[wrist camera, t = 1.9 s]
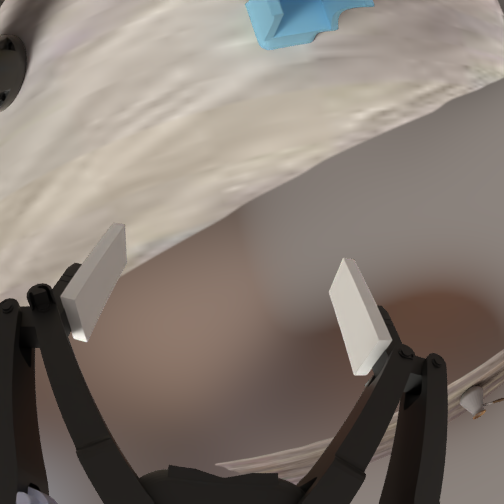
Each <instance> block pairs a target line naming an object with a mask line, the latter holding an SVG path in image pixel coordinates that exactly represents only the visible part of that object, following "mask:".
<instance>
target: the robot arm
mask: <svg viewBox="0 0 504 504" xmlns="http://www.w3.org/2000/svg"><path fill="white" fill-rule="evenodd" d="M3 2H4V0H0V7H1V5H2V4H3ZM25 69H26V51H25V47H24V44H23V42H22V41H21V40H20V39H19V38H18V37H17V36H14V35H2V36H0V112H1V111H3V110H5V109H6V108H7V107H8V106H9V105H10V104H11V103H12V102H13V100H14V99H15V97H16V96H17V94H18V92H19V90H20V87H21V85H22V82H23V78H24V74H25ZM126 264H127V254H126V234H125V224H120V223H113V224H112V225H111V227H110V228H109V229H108V230H107V232H106V233H105V234H104V235H103V237H102V238H101V239H100V241H99V242H98V243H97V245H96V246H95V247H94V249H93V250H92V251H91V253H90V254H89V255H88V257H87V258H86V259H85V261H84V262H83V264H78V263H74V264H73V265H71V266H70V267H68V268H67V269H66V271H65V272H64V274H63V276H61V278H60V279H59V281H58V282H57V283H56V285H55V286H54V288H53V289H52V288H51V287H50V286H49V285H47V284H43V283H42V284H37V285H35V286H33V287H31V288H30V289H29V291H28V292H27V300H28V302H29V305H30V306H27V307H20V306H19V303H18V302H17V300H15V299H11V298H9V299H5V300H4V301H2V302H1V303H0V504H57V502H56V501H55V500H54V499H53V498H51V497H50V496H49V490H48V481H47V476H46V470H45V465H44V460H43V454H42V449H41V443H40V435H39V428H38V418H37V407H36V394H35V393H36V391H35V348H40V350H41V354H42V358H43V361H44V365H45V368H46V371H47V375H48V378H49V381H50V384H51V387H52V390H53V393H54V396H55V398H56V401H57V404H58V407H59V409H60V411H61V414H62V417H63V419H64V422H65V424H66V426H67V429H68V431H69V433H70V436H71V438H72V440H73V442H74V444H75V447H76V453H77V456H78V458H79V461H80V463H81V464H82V466H83V468H84V470H85V472H86V474H87V476H88V478H89V479H90V481H91V482H92V485H93V486H94V488H95V490H96V491H97V493H98V495H99V496H100V498H101V500H102V501H103V503H104V504H350V502H351V501H352V499H353V498H354V496H355V495H356V493H357V491H358V490H359V488H360V487H361V485H362V483H363V482H364V480H365V477H366V474H365V473H364V471H365V469H366V467H367V465H368V464H369V462H370V460H371V458H372V457H373V455H374V453H375V451H376V449H377V447H378V445H379V443H380V441H381V440H382V438H383V436H384V434H385V432H386V429H387V427H388V425H389V423H390V421H391V419H392V417H393V414H394V412H395V410H396V408H397V405H398V403H399V401H400V407H399V413H398V420H397V426H396V432H395V437H394V443H393V448H392V453H391V458H390V462H389V466H388V471H387V475H386V479H385V483H384V486H383V490H382V494H381V497H380V501H379V504H440V502H439V499H440V494H441V488H442V481H443V473H444V465H445V455H446V441H447V417H448V395H447V371H446V370H447V369H446V363H445V361H444V359H443V358H442V357H441V356H439V355H438V354H435V353H432V354H429V356H427V358H426V359H425V358H421V357H418V356H415V353H414V352H413V350H412V349H411V348H410V347H408V346H407V345H404V344H402V342H401V340H400V338H399V335H398V333H397V331H396V329H395V327H394V326H393V323H392V321H391V318H390V316H389V314H388V312H387V311H386V310H385V309H384V308H383V307H382V306H377V305H376V303H375V301H374V299H373V296H372V294H371V292H370V290H369V288H368V286H367V284H366V282H365V280H364V278H363V276H362V274H361V272H360V270H359V268H358V266H357V264H356V262H355V260H354V259H349V258H343V259H342V262H341V264H340V267H339V269H338V272H337V274H336V276H335V279H334V281H333V283H332V286H331V288H330V291H329V294H330V297H331V300H332V303H333V306H334V310H335V313H336V316H337V319H338V323H339V326H340V329H341V332H342V335H343V339H344V342H345V346H346V349H347V352H348V356H349V359H350V363H351V366H352V370H353V373H354V375H367V374H368V373H369V371H370V370H371V369H373V372H374V375H373V376H372V377H371V378H370V380H369V381H368V382H367V383H366V384H365V386H366V388H365V389H364V391H363V393H362V394H361V396H360V398H359V400H358V401H357V403H356V405H355V406H354V408H353V410H352V411H351V413H350V414H349V416H348V418H347V419H346V421H345V422H344V424H343V425H342V427H341V428H340V430H339V431H338V433H337V434H336V436H335V437H334V439H333V440H332V441H331V443H330V444H329V446H328V447H327V449H326V450H325V451H324V453H323V454H322V455H321V457H320V458H319V459H318V461H317V462H316V463H315V465H314V466H313V467H312V469H311V470H310V471H309V472H308V474H307V475H306V476H305V477H304V478H302V479H301V480H300V481H299V483H298V484H297V485H295V484H293V483H291V482H289V481H286V480H283V479H280V478H278V473H250V474H245V475H240V476H234V477H228V478H222V477H218V476H215V475H212V474H209V473H206V472H203V471H200V470H197V469H192V468H185V467H178V466H172V465H169V467H168V469H167V470H158V471H154V472H151V473H148V474H146V475H144V476H142V477H140V478H139V477H138V476H137V474H136V473H135V471H134V470H133V469H132V467H131V465H130V464H129V462H128V461H127V459H126V458H125V456H124V455H123V453H122V451H121V450H120V448H119V446H118V445H117V443H116V441H115V439H114V438H113V436H112V434H111V432H110V430H109V429H108V427H107V425H106V423H105V421H104V419H103V417H102V415H101V413H100V411H99V409H98V408H97V405H96V403H95V401H94V399H93V397H92V395H91V393H90V391H89V388H88V386H87V384H86V382H85V379H84V377H83V375H82V373H81V370H80V368H79V365H78V362H77V360H76V358H75V355H74V352H73V349H72V347H71V344H70V341H69V338H68V336H69V334H70V332H72V334H73V337H74V339H77V340H81V341H84V342H88V339H89V337H90V335H91V333H92V331H93V328H94V326H95V324H96V322H97V320H98V318H99V316H100V314H101V312H102V310H103V308H104V306H105V304H106V302H107V300H108V298H109V296H110V294H111V292H112V290H113V288H114V286H115V284H116V282H117V280H118V279H119V277H120V275H121V273H122V271H123V269H124V268H125V266H126Z"/></svg>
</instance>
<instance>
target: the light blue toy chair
mask: <svg viewBox="0 0 504 504" xmlns="http://www.w3.org/2000/svg"><path fill="white" fill-rule="evenodd" d="M245 5H246V8H247V11H248V14H249V17H250V20H251V23H252V26H253V29H254V32H255V35H256V38H257V40H258V43H259V45H260V46H261V47H262V48H264V49H266V50H273V49H278V48H283V47H288V46H294V45H300V44H306V43H311V42H312V41H313V40H314V38H315V35H316V34H317V33H320V32H325V31H335V30H337V29H338V18H339V15H340V14H341V13H342V12H343V11H345V10H347V9H351V8H357V7H373V6H374V3H373V0H249V1H248V2H247V3H246V4H245Z"/></svg>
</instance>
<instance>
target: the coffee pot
mask: <svg viewBox="0 0 504 504" xmlns="http://www.w3.org/2000/svg"><path fill="white" fill-rule="evenodd" d="M503 400H504V398H501V399H498V400H495V401H493V402H490V403H485V404H483V388H481V387H479V386H473V387H471V388H469V389H468V390H467V391H465V392H464V393H463V394H462V397H461V399H460V404H461V405H462V406H463V407H464V408H465V409H467V410H468V411H469V412H470V413H472V414H473V419H476V418H478V417H480V416H481V415H483V414H484V413H485V412H486V410H484V408H483V406H486V405H489V404H492V403H496V402H500V401H503Z"/></svg>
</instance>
